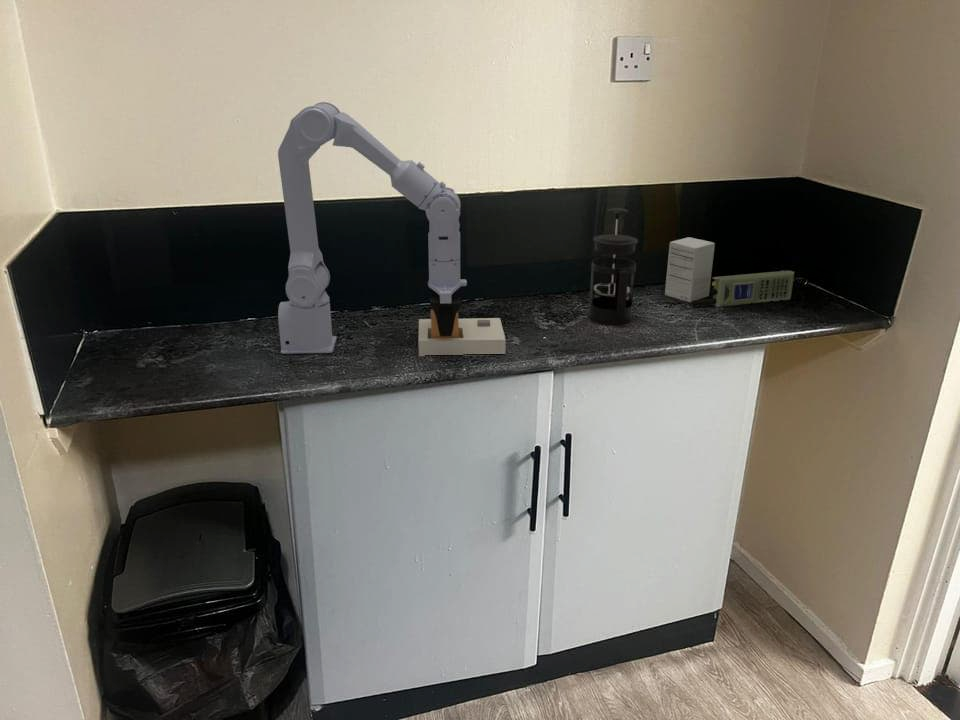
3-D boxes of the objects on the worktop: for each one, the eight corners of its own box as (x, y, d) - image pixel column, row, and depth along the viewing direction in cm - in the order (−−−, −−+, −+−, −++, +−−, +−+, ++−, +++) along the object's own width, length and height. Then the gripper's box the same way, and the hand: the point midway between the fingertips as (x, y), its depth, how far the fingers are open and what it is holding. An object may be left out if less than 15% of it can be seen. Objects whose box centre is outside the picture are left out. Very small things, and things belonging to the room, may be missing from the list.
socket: (418, 356, 143) (418, 337, 141) (419, 333, 154) (418, 315, 152) (505, 354, 144) (505, 335, 142) (499, 332, 155) (500, 314, 153)
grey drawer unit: (683, 289, 183) (688, 236, 178) (709, 296, 177) (716, 242, 173) (663, 295, 178) (668, 241, 173) (690, 302, 173) (696, 247, 168)
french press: (580, 311, 167) (587, 204, 158) (622, 308, 169) (630, 203, 160) (597, 329, 157) (605, 216, 148) (641, 327, 158) (652, 214, 149)
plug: (431, 352, 145) (431, 316, 142) (431, 344, 148) (430, 309, 146) (458, 351, 145) (458, 316, 142) (457, 343, 149) (457, 309, 146)
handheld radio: (792, 301, 175) (696, 311, 168) (783, 297, 178) (688, 307, 171) (796, 272, 173) (699, 281, 166) (787, 269, 176) (690, 277, 169)
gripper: (468, 268, 134) (468, 341, 139) (464, 247, 147) (464, 315, 152) (427, 268, 133) (429, 342, 138) (427, 248, 146) (428, 315, 152)
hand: (445, 328), depth 145 cm, fingers open, 7 cm apart
